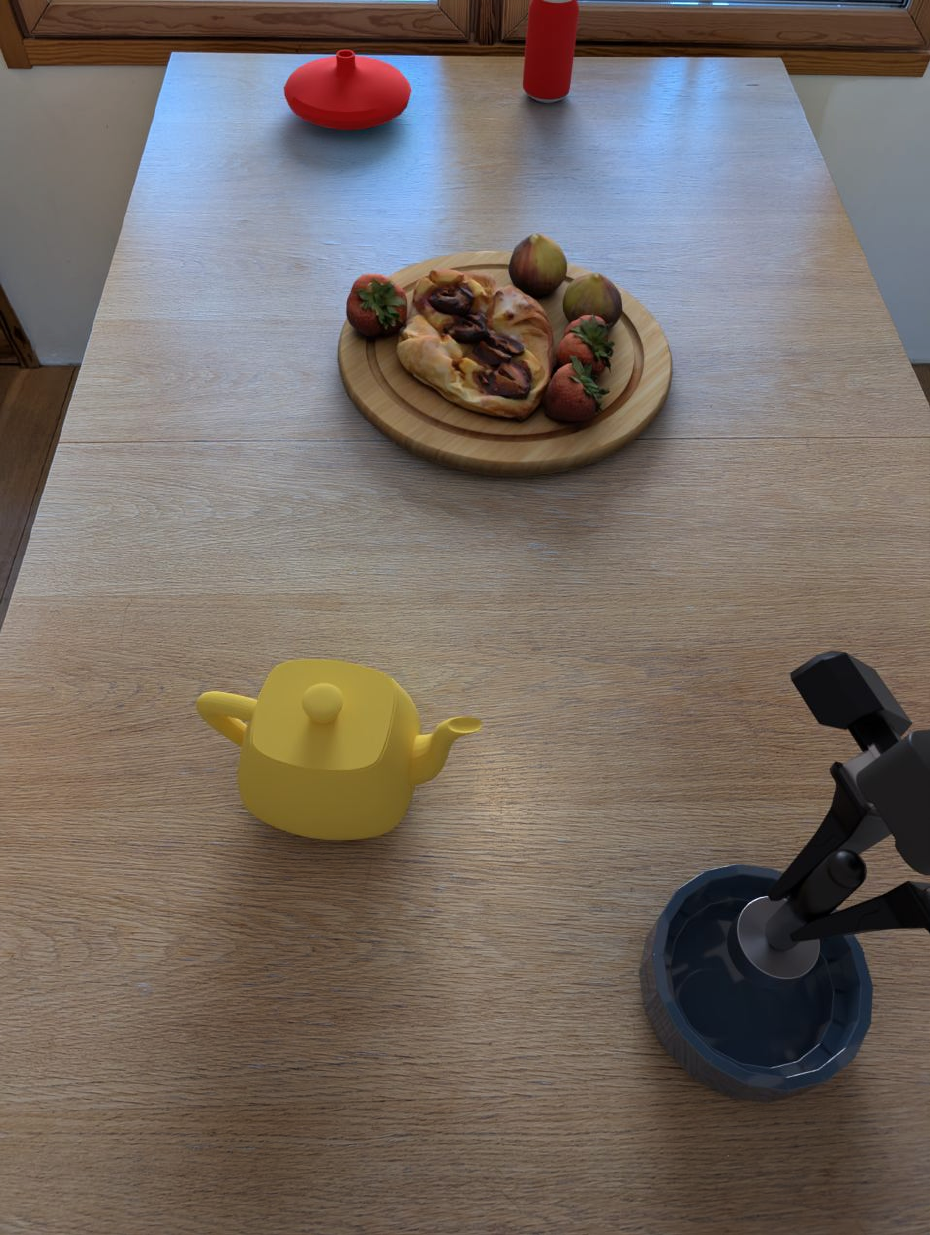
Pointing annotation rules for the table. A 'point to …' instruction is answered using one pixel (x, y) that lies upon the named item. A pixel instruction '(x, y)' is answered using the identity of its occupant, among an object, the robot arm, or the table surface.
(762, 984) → the coffee tamper
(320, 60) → the red vase
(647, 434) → the table surface
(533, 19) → the beverage can
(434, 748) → the teapot
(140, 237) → the table surface
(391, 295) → the wooden plate
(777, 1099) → the bowl
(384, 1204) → the table surface
